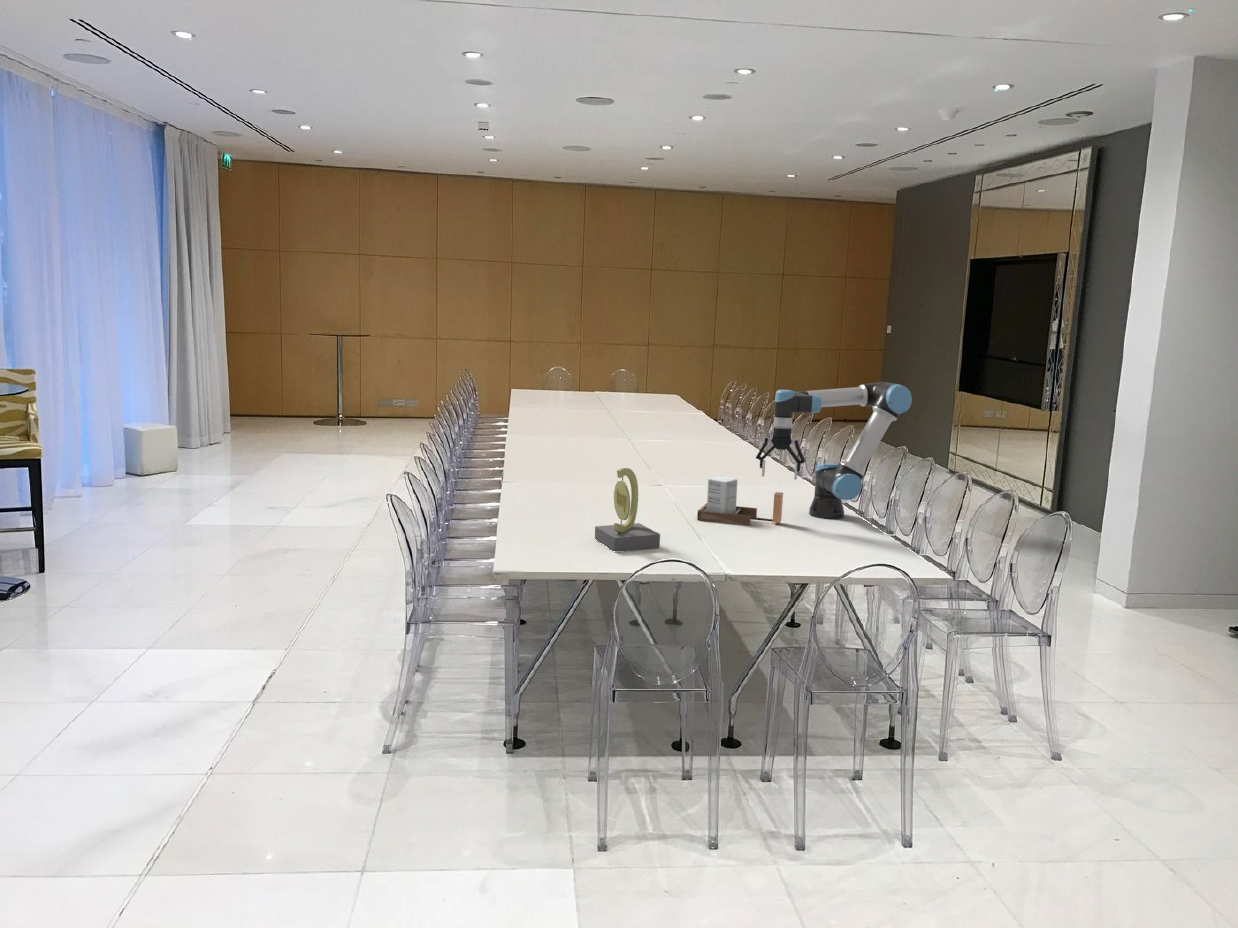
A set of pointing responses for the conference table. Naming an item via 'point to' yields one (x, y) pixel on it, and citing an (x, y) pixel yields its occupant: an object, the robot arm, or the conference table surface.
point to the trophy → (630, 532)
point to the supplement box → (722, 495)
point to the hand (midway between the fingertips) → (779, 477)
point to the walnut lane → (728, 516)
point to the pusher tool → (776, 509)
